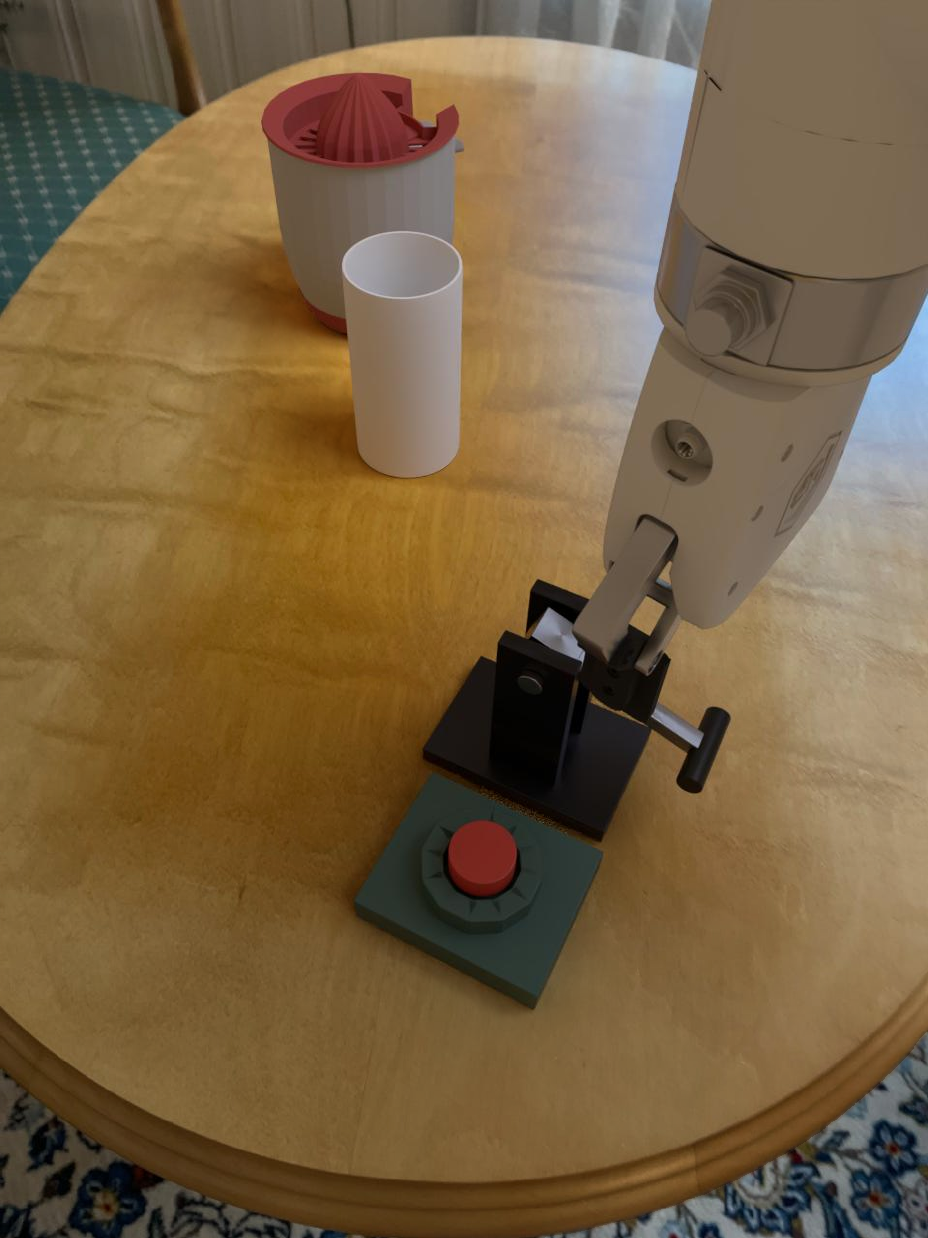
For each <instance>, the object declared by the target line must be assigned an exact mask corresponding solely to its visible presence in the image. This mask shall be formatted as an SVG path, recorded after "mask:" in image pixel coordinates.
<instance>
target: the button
mask: <svg viewBox="0 0 928 1238" xmlns="http://www.w3.org/2000/svg"><path fill="white" fill-rule="evenodd" d="M516 858H517V848H516V844H515V841H514V839H513V837H512V836H511V834H510V833H509V832H508V831H507V830H506V829H505V828H503V827H502V826H500V825H499V824H497V823H494V822H491V821H483V820H480V821H474V822H470V823H468V824H466V825H464V826H462V827H461V828H460V829H459V830H457V832H456V833H455V834H454V836H453V837H452V839H451V841H450V844H449V858H448V866H449V872H450V875H451V878H452V880H453V881H454V883H455V884H456V885H457V886H458V887H459V888H460V889H461V890H463V891H464V892H466V893H468V894H470V895H474V896H481V897H484V896H491V895H494V894H497V893H499V892H500V891H502V890H503V889H505V888H506V887H507V886H508V884H509V883H510V882H511V880H512V878H513V875H514V872H515V865H516Z"/></svg>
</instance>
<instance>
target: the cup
mask: <svg viewBox="0 0 928 1238" xmlns="http://www.w3.org/2000/svg"><path fill="white" fill-rule="evenodd" d="M463 277H464V267H463V260H462V256H461V254H460V253H459V251H458V250H457V249H456V248H455V247H454V246H453V244H452V245H450V244H449V243H447V242H446V241H444V240H442V239H440V238H438V237H435V236H432V235H429V234H424V233H419V232H411V231H395V232H386V233H381V234H377V235H373V236H370V237H368V238H365V239H363V240H361V241H359V242H358V243H356V244H355V245H353V246H352V247H351V248H350V249H349V250H348V251H347V253H346V254H345V256H344V258H343V262H342V278H343V290H344V301H345V312H346V323H347V333H346V334H347V345H348V357H349V366H350V377H351V378H350V379H351V387H352V388H351V390H352V398H353V399H352V401H353V411H354V412H353V413H354V422H355V423H354V424H355V433H356V443H357V444H356V445H357V451H358V453H359V456H360V458H361V459H362V460H363V462H364V463H366V464H367V465H368V466H369V467H370V468H372V469H373V470H374V471H377V472H378V473H381V474H384V475H386V476H390V477H394V478H401V479H414V478H421V477H426V476H429V475H432V474H433V475H434V474H435V473H437V472H439V471H441V470H443V469H445V468H446V467H447V466H448V465H450V463H452V462H453V460H454V459H456V456H457V454H458V452H459V449H460V437H461V391H462V390H461V386H462V385H461V384H462V383H461V382H462V342H463V341H462V339H463V338H462V336H463V333H462V332H463V286H464V282H463V280H464V278H463Z"/></svg>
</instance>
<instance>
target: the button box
mask: <svg viewBox="0 0 928 1238" xmlns="http://www.w3.org/2000/svg"><path fill="white" fill-rule="evenodd" d="M480 820H483V821H491V822H494V823H497V824H499V825H500V826H502V827H503V828H505V829H506V830H507V831H508V832H509V833H510V834H511V836H512V837H513V839H514V841H515V844H516V848H517V858H516V865H515V872H514V875H513V878H512V880H511V882H510V883H509V884H508V886H507V887H506V888H505V889H503V890H502V891H500V892H499V893H497V894H494V895H491V896H484V897H481V896H474V895H470V894H468V893H466V892H464V891H463V890H461V889H460V888H459V887H458V886H457V885H456V884H455V883H454V881H453V880H452V878H451V875H450V872H449V866H448V858H449V844H450V841H451V839H452V837H453V836H454V834H455V833H456V832H457V830H459V829H460V828H461V827H462V826H464V825H466V824H468V823H470V822H474V821H480ZM603 856H604V851H603V850H600V849H598V848H596V847H594V846H592V845H590V844H589V843H585V842H583V841H581V840H579V839H577V838H575V837H573V836H571V835H570V834H569V835H568V834H566V833H565V832H562V831H560V830H559V829H556V828H554V827H552V826H550V825H548V824H545V823H543V822H541V821H539V820H537V819H535V818H532V817H530V816H528V815H526V814H524V813H522V812H519V811H518V810H515V809H513V808H511V807H509V806H507V805H505V804H503V803H500V802H499V801H496V800H494V799H492V798H491V797H490V798H489V797H487V796H485V795H483V794H481V793H479V792H477V791H475V790H473V789H471V788H469V787H466V786H464V785H462V784H460V783H458V782H456V781H453V780H451V779H450V778H447V777H445V776H443V775H441V774H440V773H439V774H438V773H436V772H435V771H431V772H430V774H429V775H428V776H427V778H426V780H425V782H424V784H423V786H422V787H421V789H420V790H419V792H418V794H417V795H416V797H415V798H414V799H413V802H412V803H411V805H410V807H409V809H408V810H407V812H406V813H405V815H404V817H403V818H402V820H401V821H400V824H399V825H398V827H397V828H396V830H395V831H394V833H393V834H392V836H391V838H390V839H389V841H388V843H387V845H386V846H385V848H384V849H383V851H382V853H381V854H380V856H379V858H378V859H377V861H376V862H375V864H374V866H373V867H372V870H370V872H369V874H368V876H367V877H366V879H365V881H364V882H363V883H362V885H361V887H360V889H359V890H358V892H357V893H356V895H355V897H354V899H353V906H354V911H355V916H356V917H357V918H360V920H361V919H362V920H363V921H365V922H367V923H368V924H371V925H373V926H375V927H376V928H378V929H380V930H382V931H384V932H386V933H388V934H390V935H391V936H394V937H395V938H397V939H399V940H401V941H403V942H405V943H406V944H409V945H411V946H412V947H414V948H417V949H418V950H420V951H421V952H424V953H425V954H427V955H429V956H431V957H433V958H435V959H437V960H439V961H441V962H443V963H445V964H447V965H449V966H450V967H452V968H454V969H456V970H458V971H460V972H462V973H463V974H466V975H467V976H469V977H472V978H473V979H475V980H477V981H479V982H480V983H483V984H484V985H486V986H489V987H490V988H493V989H494V990H496V991H498V992H499V993H502V994H503V995H506V996H507V997H508V998H511V999H513V1000H515V1001H517V1002H519V1003H520V1004H522V1005H524V1006H526V1007H528V1008H530V1009H532V1010H536V1008H537V1006H538V1003H539V1001H540V999H541V996H542V994H543V992H544V990H545V988H546V985H547V983H548V981H549V979H550V977H551V975H552V973H553V971H554V968H555V966H556V964H557V961H558V959H559V957H560V955H561V953H562V951H563V948H564V947H565V944H566V942H567V940H568V937H569V935H570V933H571V931H572V929H573V926H574V924H575V922H576V920H577V918H578V915H579V913H580V911H581V909H582V906H583V905H584V902H585V900H586V898H587V897H588V893H589V891H590V889H591V887H592V885H593V882H594V880H595V878H596V876H597V874H598V871H599V869H600V867H601V863H602V860H603V858H604V857H603Z"/></svg>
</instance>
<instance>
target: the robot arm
mask: <svg viewBox="0 0 928 1238" xmlns="http://www.w3.org/2000/svg"><path fill="white" fill-rule="evenodd" d="M691 98H692V99H691V102H690V109H689V113H688V118H687V123H686V129H685V135H684V140H683V145H682V150H681V153H680V154H681V155H680V159H679V160H680V161H679V165H678V171H677V174H676V175H677V176H676V181H675V182H674V186H673V187H674V188H673V192H672V198H671V203H670V208H669V212H668V217H667V222H666V227H665V232H664V237H663V243H662V247H661V253H660V257H659V262H658V269H657V273H656V277H655V283H654V287H653V303H654V307H655V311H656V314H657V316H658V318H659V320H660V322H661V324H662V325H663V328H662V329H661V331H660V334H659V337H658V340H657V343H656V345H655V348H654V351H653V354H652V357H651V360H650V363H649V366H648V369H647V372H646V375H645V378H644V381H643V384H642V386H641V387H642V388H641V390H640V393H639V397H638V400H637V404H636V406H635V409H634V413H633V417H632V420H631V423H630V427H629V430H628V433H627V437H626V440H625V445H624V447H623V452H622V455H621V459H620V462H619V467H618V470H617V475H616V478H615V482H614V486H613V490H612V494H611V498H610V504H609V507H608V512H607V518H606V523H605V529H604V536H603V545H602V562H603V566H604V569H605V572H606V575H604V577H603V579H602V580H601V582H600V583H599V585H598V586H597V588H596V589H595V591H594V592H593V594H592V595H591V597H590V598H589V599H590V600H589V601H588V603H587V604H586V606H585V607H584V609H583V610H582V612H581V613H580V615H579V616H578V618H577V620H576V621H575V623H574V626H573V629H572V634H573V635H574V637H575V639H576V640H577V642H578V643H577V646H578V647H579V648H581V649H583V650H584V651H585V655H584V660H583V665H582V670H581V675H580V682H581V684H582V685H583V686H584V687H585V688H587V689H588V690H590V691H591V693H592V697H594V698H595V699H596V700H597V701H598V702H599V703H601V704H602V705H604V706H605V707H607V708H608V709H610V710H611V711H616V712H622V713H624V714H626V715H627V716H629V717H631V718H632V719H634V720H635V721H636V722H638V723H641V724H644V723H645V722H647V721H648V719H649V718H650V717H651V716H652V714H653V713H654V711H655V708H656V705H657V702H659V699H660V695H661V692H662V689H663V686H664V683H665V680H666V678H667V677H666V676H667V674H668V670H669V668H670V665H671V661H672V658H670V657H669V655H668V654H667V653H666V650H667V649H668V647H669V645H670V643H671V642H672V640H673V638H674V636H675V634H676V633H677V631H678V629H679V627H680V625H681V624H682V622H683V621H685V622H687V623H688V624H691V625H693V626H694V627H696V628H698V629H700V630H703V631H704V630H709V629H713V628H716V627H718V626H720V625H723V624H724V623H725V622H726V621H728V620H729V619H730V618H731V617H732V616H733V614H734V613H735V612H736V611H737V610H738V609H739V608H740V606H741V605H742V604H743V603H744V601H745V600H746V599H747V598H748V597H749V595H750V594H751V593H752V592H753V590H754V589H755V588H756V587H757V585H759V583H760V582H761V581H762V579H763V578H764V577H765V576H766V575H767V573H768V572H769V571H770V569H771V568H772V567H773V566H774V564H775V563H776V562H777V560H778V559H779V558H780V557H781V555H782V554H783V553H784V552H785V551H786V550H787V548H788V547H789V545H790V544H791V543H792V541H793V540H794V539H795V538H796V537H797V535H798V534H799V533H800V532H801V530H802V528H803V527H804V526H805V525H806V523H807V522H808V521H809V520H810V518H811V517H812V515H813V514H814V513H815V511H816V510H817V508H818V507H819V505H820V504H821V502H822V501H823V500H824V497H825V496H826V494H827V492H828V491H829V488H830V486H831V484H832V482H833V480H834V478H835V475H836V471H837V470H838V468H839V464H840V462H841V459H842V457H843V454H844V451H845V449H846V446H847V444H848V441H849V438H850V436H851V433H852V430H853V427H854V425H855V422H856V420H857V417H858V415H859V411H860V410H861V406H862V404H863V401H864V398H865V395H866V393H867V391H868V388H869V385H870V383H871V380H872V377H873V375H876V374H878V373H879V372H880V371H882V370H884V369H886V368H887V367H888V366H890V365H891V364H892V363H893V362H895V360H896V359H897V358H898V357H899V355H900V354H901V353H902V351H903V349H904V347H905V345H906V343H907V341H908V339H909V337H910V335H911V332H912V330H913V327H914V326H915V323H916V321H917V319H918V317H919V315H920V313H921V310H922V308H923V305H924V303H925V301H926V299H927V297H928V0H711V1H710V5H709V11H708V16H707V21H706V25H705V32H704V36H703V42H702V47H701V51H700V56H699V62H698V68H697V72H696V78H695V82H694V88H693V93H692V97H691ZM669 562H671V565H670V567H669V572H668V575H669V582H670V583H669V582H667V581H666V580H664V579H662V578H660V576H661V574H662V572H664V570H665V568H666V567H667V566H668V564H669ZM646 597H647V598H649V599H651V600H653V601H655V602H656V603H658V604H659V605H662V606H663V607H664V609H663V611H662V612H661V614H660V616H659V618H658V620H657V622H656V624H655V625H654V627H653V629H652V630H651V633H650V634H648V633H646V632H644V631H643V630H640V629H639V628H638V627H635V626H634V625H632V624H631V623H630V622H631V621H632V619H633V617H634V615H635V614H636V612H637V610H638V609H639V608H640V606H641V605H642V603H643V602H644V600H645V599H646Z"/></svg>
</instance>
